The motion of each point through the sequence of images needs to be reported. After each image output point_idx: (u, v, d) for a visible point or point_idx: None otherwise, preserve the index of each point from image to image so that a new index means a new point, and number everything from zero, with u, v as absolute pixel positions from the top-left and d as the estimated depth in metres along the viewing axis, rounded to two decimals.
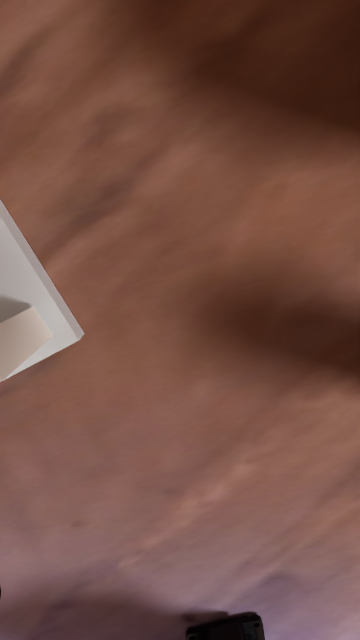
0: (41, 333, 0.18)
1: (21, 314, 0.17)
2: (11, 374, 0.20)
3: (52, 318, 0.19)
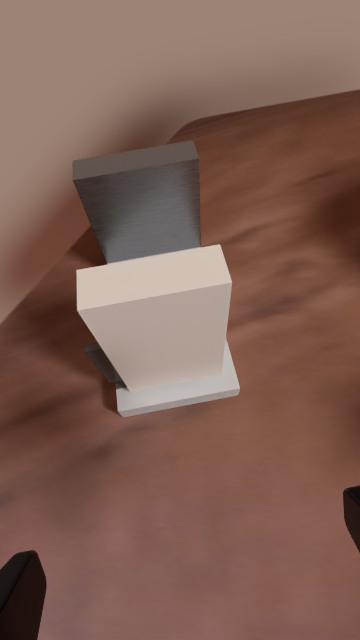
0: None
1: None
2: (168, 400, 0.21)
3: (223, 363, 0.22)
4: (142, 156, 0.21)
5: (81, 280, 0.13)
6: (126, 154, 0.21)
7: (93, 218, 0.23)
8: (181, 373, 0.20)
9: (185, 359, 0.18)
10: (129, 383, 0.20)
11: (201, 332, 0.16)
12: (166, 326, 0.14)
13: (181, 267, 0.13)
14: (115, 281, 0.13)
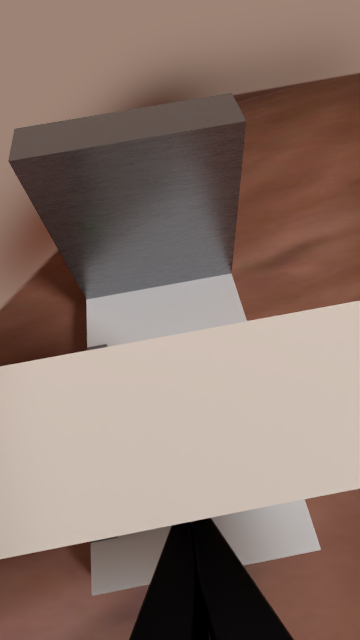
0: None
1: None
2: None
3: None
4: (140, 120, 0.11)
5: None
6: (112, 117, 0.12)
7: (57, 230, 0.13)
8: None
9: None
10: None
11: None
12: None
13: (261, 385, 0.04)
14: (24, 439, 0.04)
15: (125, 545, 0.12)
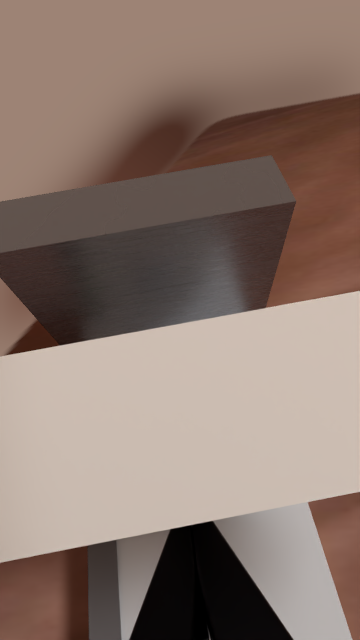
0: None
1: None
2: None
3: None
4: (155, 194, 0.09)
5: None
6: (118, 188, 0.09)
7: (49, 318, 0.11)
8: None
9: None
10: None
11: None
12: None
13: (265, 378, 0.03)
14: (11, 435, 0.03)
15: None
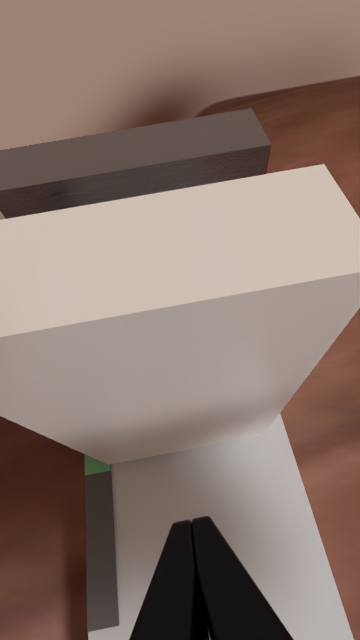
0: None
1: None
2: None
3: (310, 570, 0.11)
4: (145, 141, 0.10)
5: None
6: (111, 137, 0.10)
7: None
8: (196, 440, 0.11)
9: (207, 424, 0.09)
10: (104, 457, 0.11)
11: (250, 387, 0.07)
12: (172, 382, 0.06)
13: (219, 223, 0.04)
14: (19, 264, 0.04)
15: (128, 634, 0.10)
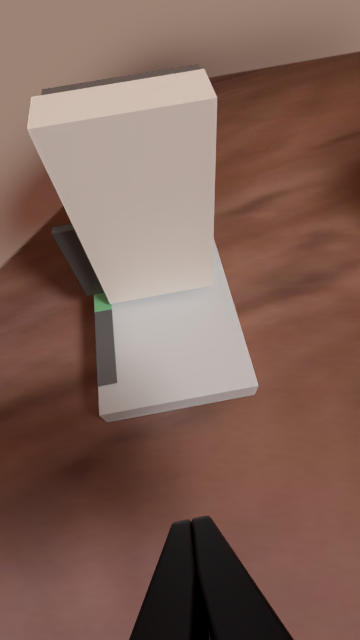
0: None
1: None
2: (165, 401, 0.16)
3: (236, 353, 0.17)
4: None
5: (35, 105, 0.11)
6: (112, 80, 0.16)
7: None
8: (166, 276, 0.17)
9: (169, 249, 0.16)
10: (107, 287, 0.17)
11: (184, 199, 0.13)
12: (142, 181, 0.12)
13: (156, 88, 0.11)
14: (76, 103, 0.11)
15: (122, 387, 0.17)
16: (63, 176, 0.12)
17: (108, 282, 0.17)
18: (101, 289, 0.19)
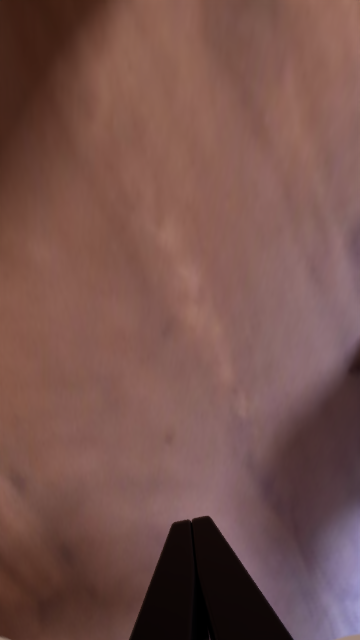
0: None
1: None
2: None
3: None
4: None
5: None
6: None
7: None
8: None
9: None
10: None
11: None
12: None
13: None
14: None
15: None
16: None
17: None
18: None
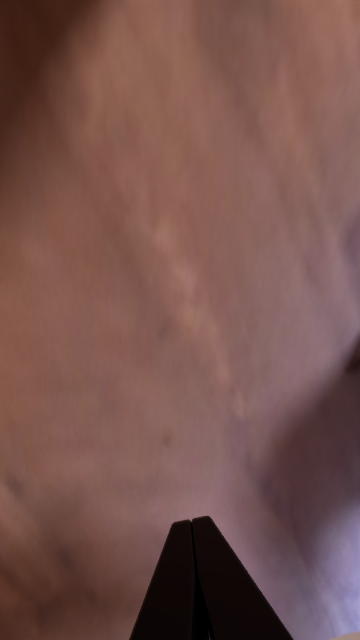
0: None
1: None
2: None
3: None
4: None
5: None
6: None
7: None
8: None
9: None
10: None
11: None
12: None
13: None
14: None
15: None
16: None
17: None
18: None
